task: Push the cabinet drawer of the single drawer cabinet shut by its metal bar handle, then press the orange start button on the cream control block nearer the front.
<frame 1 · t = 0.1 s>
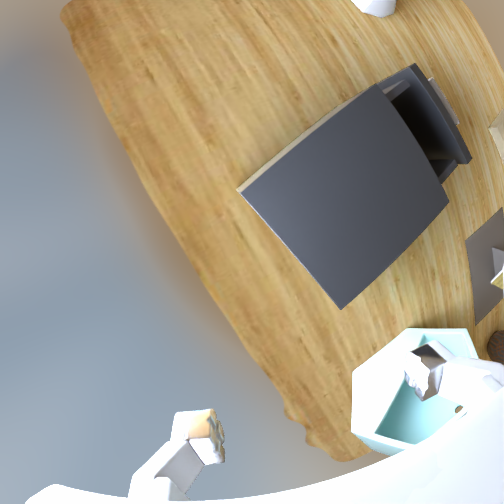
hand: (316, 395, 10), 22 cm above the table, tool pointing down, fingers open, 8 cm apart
planter: (391, 360, 37), on the table
cabinet drawer: (402, 137, 24), point 5 cm above the table, slide at 5.5 cm
vase: (492, 340, 40), on the table
platform: (491, 268, 35), on the table
single drawer cabinet: (325, 189, 30), on the table
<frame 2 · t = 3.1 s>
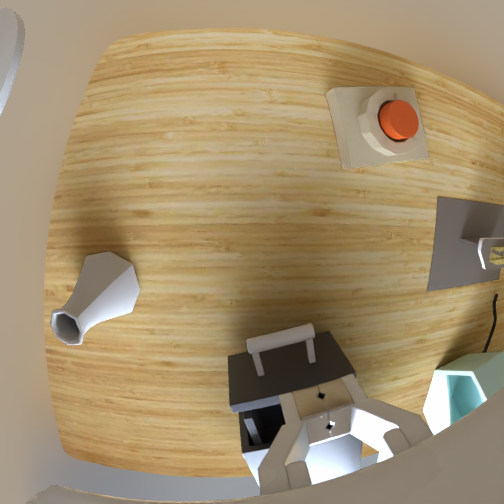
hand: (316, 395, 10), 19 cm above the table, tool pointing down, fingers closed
planter: (445, 380, 36), on the table
cabinet drawer: (292, 396, 27), point 5 cm above the table, slide at 5.5 cm
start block: (376, 126, 25), on the table
flask: (110, 282, 27), on the table
eyeglasses: (498, 328, 36), on the table
start button: (399, 120, 21), point 4 cm above the table, slide at 0.1 cm
platform: (474, 244, 30), on the table
single drawer cabinet: (294, 417, 34), on the table
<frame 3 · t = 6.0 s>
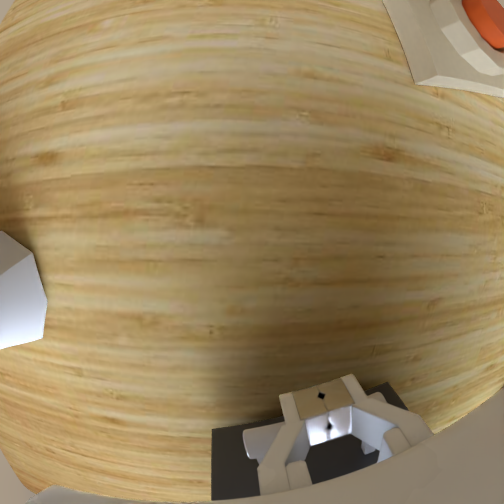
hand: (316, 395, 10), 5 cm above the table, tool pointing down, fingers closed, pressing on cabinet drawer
cabinet drawer: (322, 489, 12), point 5 cm above the table, slide at 4.7 cm, touching gripper
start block: (448, 38, 11), on the table
flask: (10, 286, 13), on the table
start button: (490, 19, 6), point 4 cm above the table, slide at 0.1 cm
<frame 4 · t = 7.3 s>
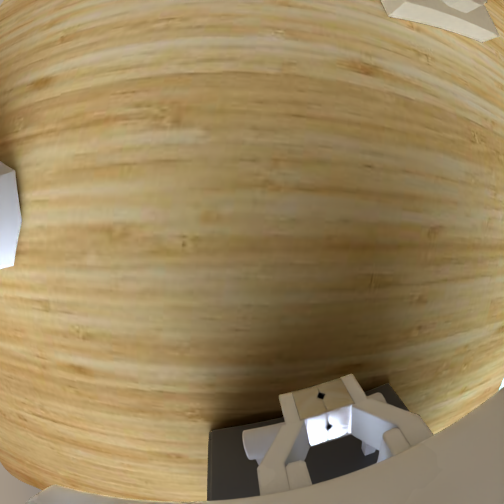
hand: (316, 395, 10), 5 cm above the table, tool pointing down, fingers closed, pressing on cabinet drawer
cabinet drawer: (322, 491, 12), point 5 cm above the table, slide at 0.0 cm, touching single drawer cabinet, gripper
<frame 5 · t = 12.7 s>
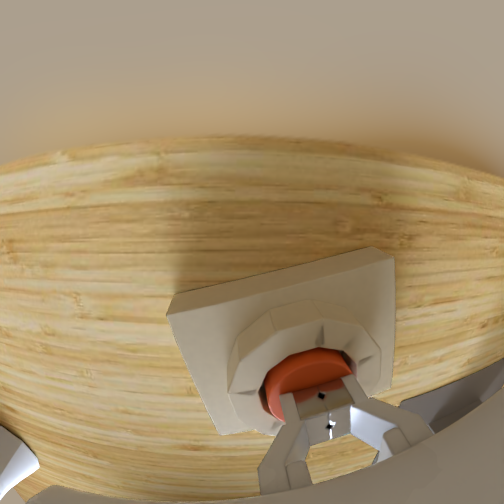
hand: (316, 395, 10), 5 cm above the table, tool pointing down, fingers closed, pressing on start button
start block: (290, 340, 14), on the table
flask: (14, 443, 16), on the table
start button: (308, 383, 11), point 4 cm above the table, slide at -0.8 cm, touching gripper
platform: (451, 416, 19), on the table
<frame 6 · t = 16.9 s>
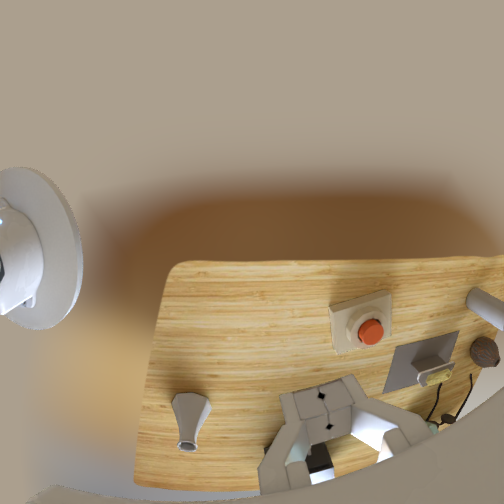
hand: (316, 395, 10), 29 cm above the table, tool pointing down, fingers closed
beverage can: (471, 297, 45), on the table
cabinet drawer: (299, 465, 45), point 5 cm above the table, slide at 0.0 cm
vase: (475, 345, 49), on the table
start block: (359, 319, 43), on the table
flask: (191, 404, 45), on the table
eyeglasses: (445, 398, 53), on the table
start button: (371, 332, 38), point 4 cm above the table, slide at 0.1 cm
platform: (423, 362, 47), on the table
single drawer cabinet: (296, 457, 51), on the table
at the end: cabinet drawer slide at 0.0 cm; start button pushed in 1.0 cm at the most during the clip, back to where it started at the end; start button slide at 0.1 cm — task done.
